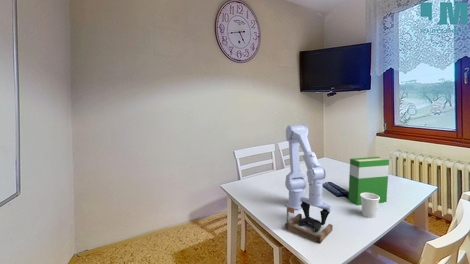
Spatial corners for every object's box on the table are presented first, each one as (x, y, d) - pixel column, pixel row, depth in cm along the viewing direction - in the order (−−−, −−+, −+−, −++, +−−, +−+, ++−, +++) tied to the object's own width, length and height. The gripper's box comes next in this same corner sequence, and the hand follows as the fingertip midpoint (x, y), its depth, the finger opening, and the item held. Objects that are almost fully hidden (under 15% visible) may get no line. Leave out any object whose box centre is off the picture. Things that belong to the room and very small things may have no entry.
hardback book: (376, 197, 133) (378, 156, 130) (386, 202, 126) (389, 159, 123) (348, 199, 130) (350, 158, 127) (357, 205, 123) (359, 162, 120)
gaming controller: (297, 223, 105) (302, 211, 107) (301, 228, 108) (306, 216, 110) (316, 232, 97) (321, 219, 99) (320, 237, 100) (326, 224, 102)
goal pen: (298, 218, 111) (299, 197, 110) (332, 230, 100) (333, 207, 99) (285, 228, 102) (285, 206, 101) (320, 243, 91) (320, 218, 90)
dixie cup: (381, 220, 108) (383, 199, 106) (362, 218, 109) (363, 198, 108) (374, 211, 116) (375, 192, 114) (356, 210, 117) (357, 191, 116)
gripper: (335, 194, 101) (334, 223, 103) (306, 186, 112) (305, 212, 113) (327, 199, 96) (326, 229, 98) (297, 190, 107) (297, 217, 109)
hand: (314, 221), depth 105 cm, fingers open, 7 cm apart
